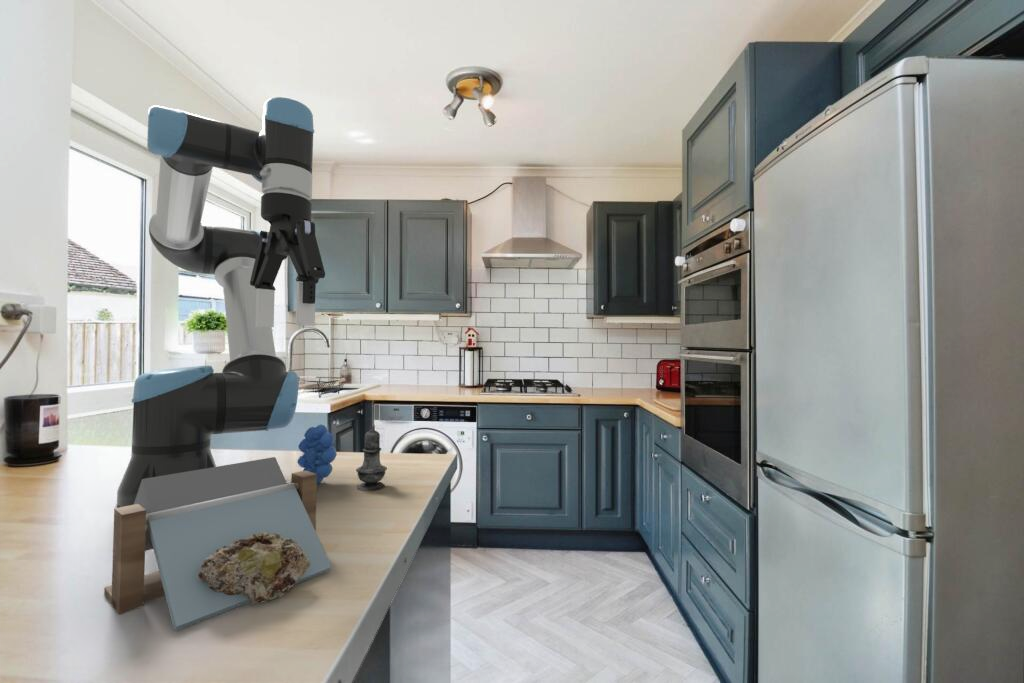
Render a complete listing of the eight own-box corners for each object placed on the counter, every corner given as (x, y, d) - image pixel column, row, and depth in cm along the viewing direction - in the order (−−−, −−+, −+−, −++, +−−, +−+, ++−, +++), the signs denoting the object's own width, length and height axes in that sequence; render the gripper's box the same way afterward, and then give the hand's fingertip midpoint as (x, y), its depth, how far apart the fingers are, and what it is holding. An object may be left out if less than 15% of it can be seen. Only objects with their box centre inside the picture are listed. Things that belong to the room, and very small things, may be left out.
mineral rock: (306, 519, 58) (319, 568, 51) (297, 548, 58) (308, 600, 52) (203, 524, 51) (204, 581, 45) (194, 557, 52) (193, 617, 46)
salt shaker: (369, 493, 89) (371, 429, 89) (349, 487, 92) (350, 426, 92) (392, 485, 94) (394, 425, 94) (372, 481, 97) (373, 422, 97)
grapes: (352, 484, 94) (353, 424, 95) (321, 492, 89) (322, 428, 89) (319, 474, 101) (321, 418, 102) (289, 481, 96) (290, 422, 96)
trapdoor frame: (104, 594, 51) (107, 502, 52) (293, 536, 68) (294, 466, 68) (119, 614, 48) (122, 514, 48) (315, 547, 64) (316, 474, 64)
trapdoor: (124, 518, 56) (137, 475, 53) (262, 488, 69) (280, 453, 66) (158, 666, 47) (177, 625, 44) (310, 600, 60) (332, 566, 57)
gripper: (230, 205, 82) (227, 326, 82) (303, 174, 67) (300, 323, 67) (274, 215, 88) (271, 328, 88) (350, 188, 73) (347, 325, 73)
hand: (283, 326), depth 77 cm, fingers open, 13 cm apart
